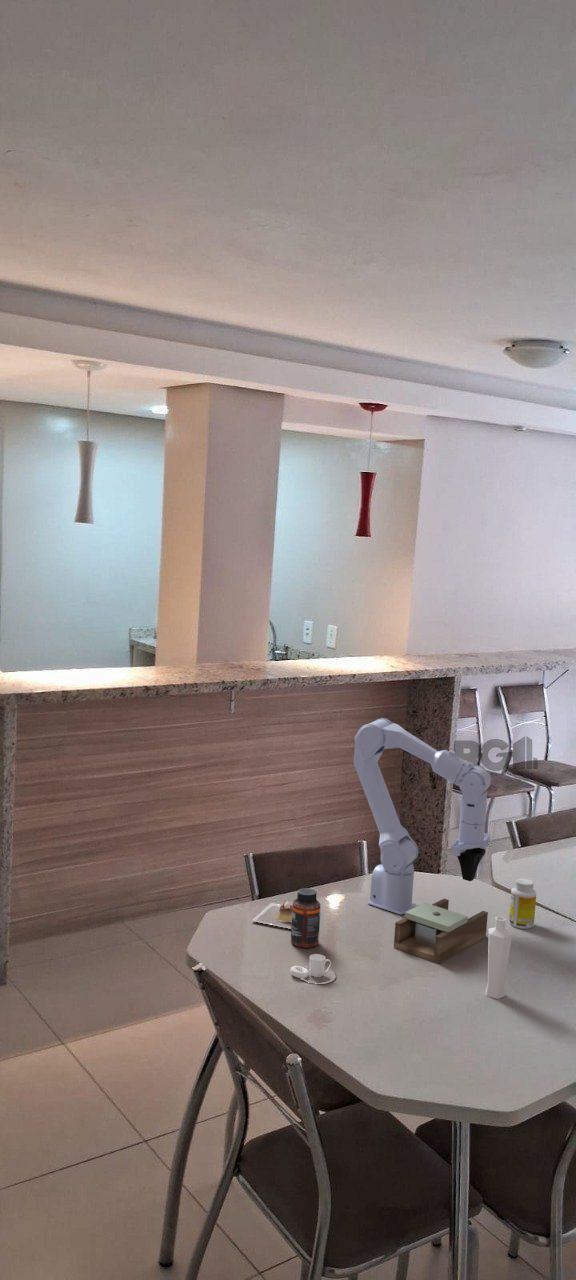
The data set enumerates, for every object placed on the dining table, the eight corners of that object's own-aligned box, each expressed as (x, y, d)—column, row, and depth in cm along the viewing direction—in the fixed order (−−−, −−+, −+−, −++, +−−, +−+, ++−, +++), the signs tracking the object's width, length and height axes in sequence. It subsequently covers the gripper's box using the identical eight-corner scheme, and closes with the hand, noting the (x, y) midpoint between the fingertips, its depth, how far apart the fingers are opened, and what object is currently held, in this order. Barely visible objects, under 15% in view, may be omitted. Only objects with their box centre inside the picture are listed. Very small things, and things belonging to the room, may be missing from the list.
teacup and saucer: (286, 980, 193) (287, 960, 193) (300, 964, 201) (301, 945, 200) (329, 990, 190) (330, 969, 190) (341, 973, 198) (342, 953, 197)
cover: (404, 918, 212) (405, 911, 212) (424, 908, 219) (424, 901, 218) (448, 932, 206) (448, 925, 206) (467, 922, 212) (467, 915, 212)
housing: (393, 947, 211) (395, 922, 210) (442, 921, 226) (444, 898, 226) (438, 963, 204) (440, 937, 203) (486, 936, 219) (487, 912, 219)
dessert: (271, 907, 231) (272, 887, 230) (320, 917, 227) (321, 896, 226) (251, 925, 220) (252, 904, 219) (302, 936, 216) (303, 914, 215)
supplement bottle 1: (323, 942, 211) (326, 890, 210) (309, 951, 206) (312, 898, 205) (299, 935, 214) (302, 884, 213) (285, 944, 209) (287, 891, 208)
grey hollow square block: (414, 941, 212) (415, 923, 211) (426, 934, 215) (428, 916, 215) (434, 948, 208) (436, 929, 208) (447, 941, 212) (448, 923, 212)
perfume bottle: (490, 986, 195) (496, 912, 193) (510, 994, 192) (516, 919, 190) (477, 992, 192) (483, 917, 190) (496, 1001, 188) (502, 924, 187)
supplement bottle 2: (538, 926, 227) (542, 883, 225) (523, 931, 223) (527, 887, 222) (518, 918, 231) (522, 875, 230) (503, 923, 227) (507, 879, 226)
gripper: (472, 831, 216) (467, 892, 218) (503, 819, 228) (499, 876, 229) (444, 824, 221) (439, 883, 222) (476, 812, 232) (471, 868, 233)
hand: (467, 879), depth 226 cm, fingers closed
